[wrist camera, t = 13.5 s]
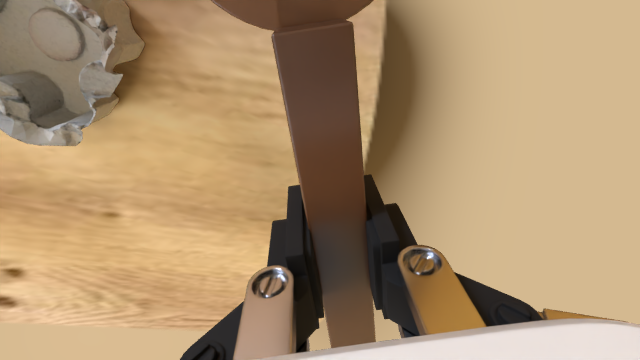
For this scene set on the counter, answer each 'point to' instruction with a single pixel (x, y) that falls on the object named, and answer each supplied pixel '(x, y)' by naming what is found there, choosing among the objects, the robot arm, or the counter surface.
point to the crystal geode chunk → (61, 66)
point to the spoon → (324, 146)
